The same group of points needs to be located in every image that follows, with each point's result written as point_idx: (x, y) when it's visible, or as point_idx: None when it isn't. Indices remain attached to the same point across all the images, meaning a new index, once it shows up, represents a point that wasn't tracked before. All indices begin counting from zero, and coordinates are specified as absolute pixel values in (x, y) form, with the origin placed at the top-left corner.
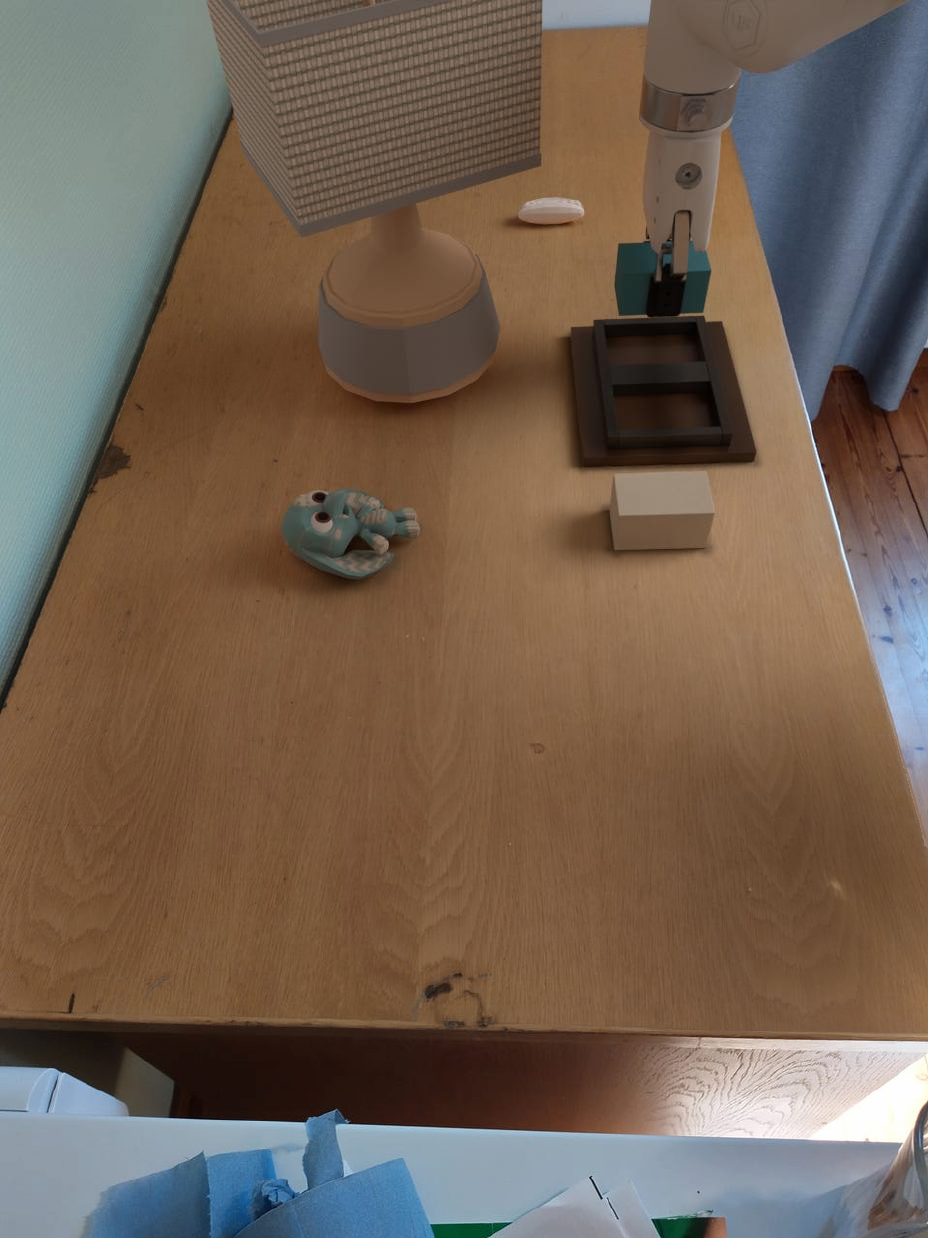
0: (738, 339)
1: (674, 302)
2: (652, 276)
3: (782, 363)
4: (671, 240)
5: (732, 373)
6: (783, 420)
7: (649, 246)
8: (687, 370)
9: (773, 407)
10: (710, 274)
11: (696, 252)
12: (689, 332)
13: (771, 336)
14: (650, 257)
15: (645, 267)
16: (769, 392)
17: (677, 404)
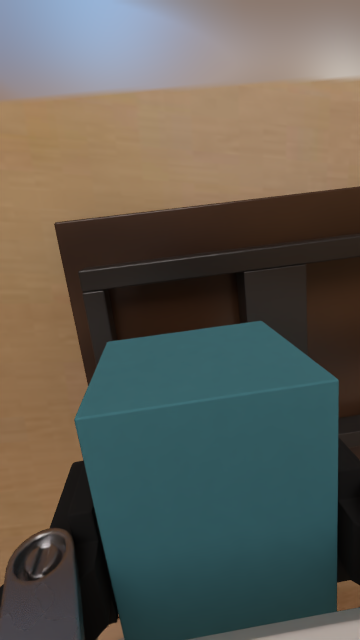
0: (86, 184)
1: (341, 441)
2: (338, 576)
3: (160, 90)
4: (76, 534)
5: (234, 209)
6: (336, 109)
7: (152, 615)
8: (274, 309)
9: (299, 127)
10: (326, 371)
11: (192, 446)
12: (109, 295)
13: (65, 105)
14: (234, 606)
15: (302, 614)
16: (255, 130)
17: (322, 316)
